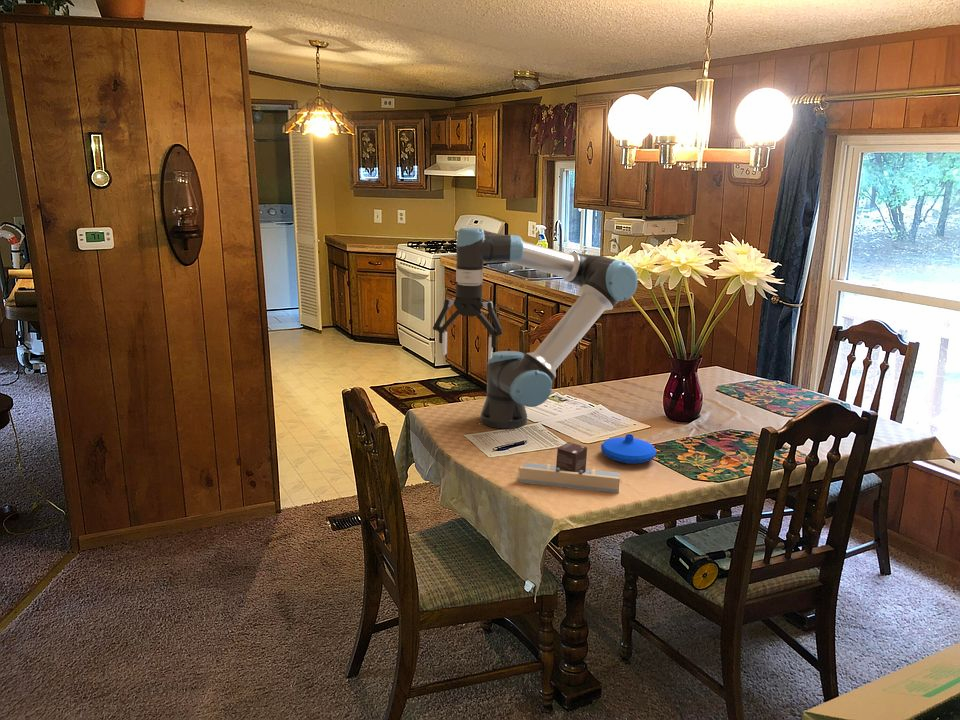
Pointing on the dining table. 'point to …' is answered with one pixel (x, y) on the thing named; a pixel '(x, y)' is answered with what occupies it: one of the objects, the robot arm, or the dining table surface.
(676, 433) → the dining table surface
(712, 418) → the dining table surface
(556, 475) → the board
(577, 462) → the box
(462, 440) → the dining table surface
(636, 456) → the blue knobbed lid
